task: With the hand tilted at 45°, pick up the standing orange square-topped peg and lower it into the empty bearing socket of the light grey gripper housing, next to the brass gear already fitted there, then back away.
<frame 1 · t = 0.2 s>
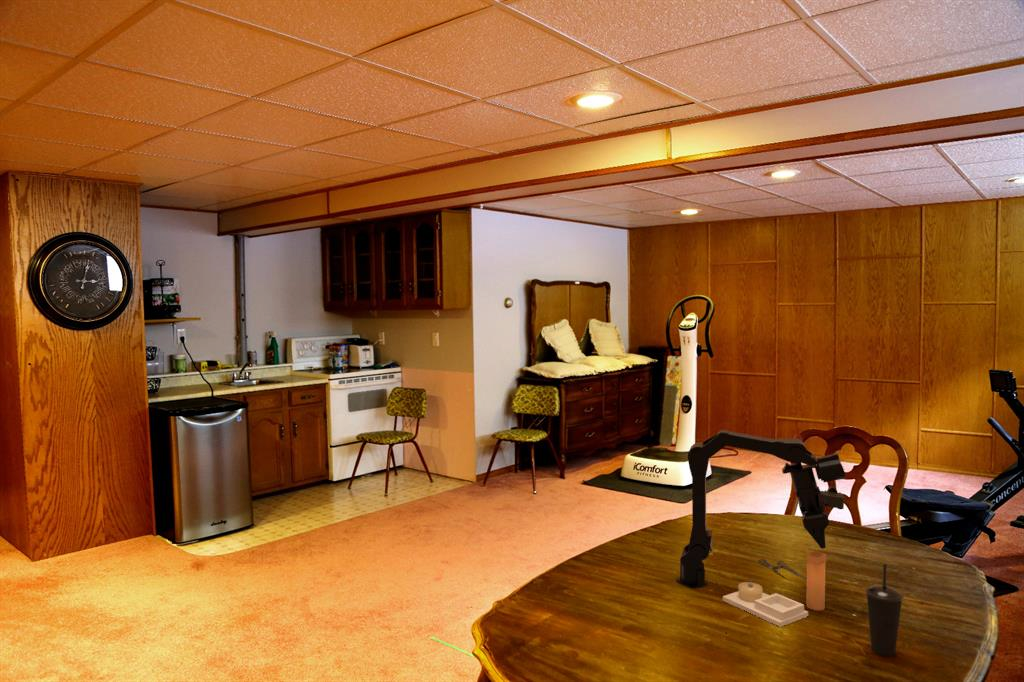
hand: (821, 542, 186), 15 cm above the table, tool tilted 15°, fingers open, 9 cm apart
drinking cup: (882, 651, 159), on the table
hacksaw: (795, 576, 204), on the table
housing: (764, 608, 181), on the table
orange square-topped peg: (815, 606, 182), on the table
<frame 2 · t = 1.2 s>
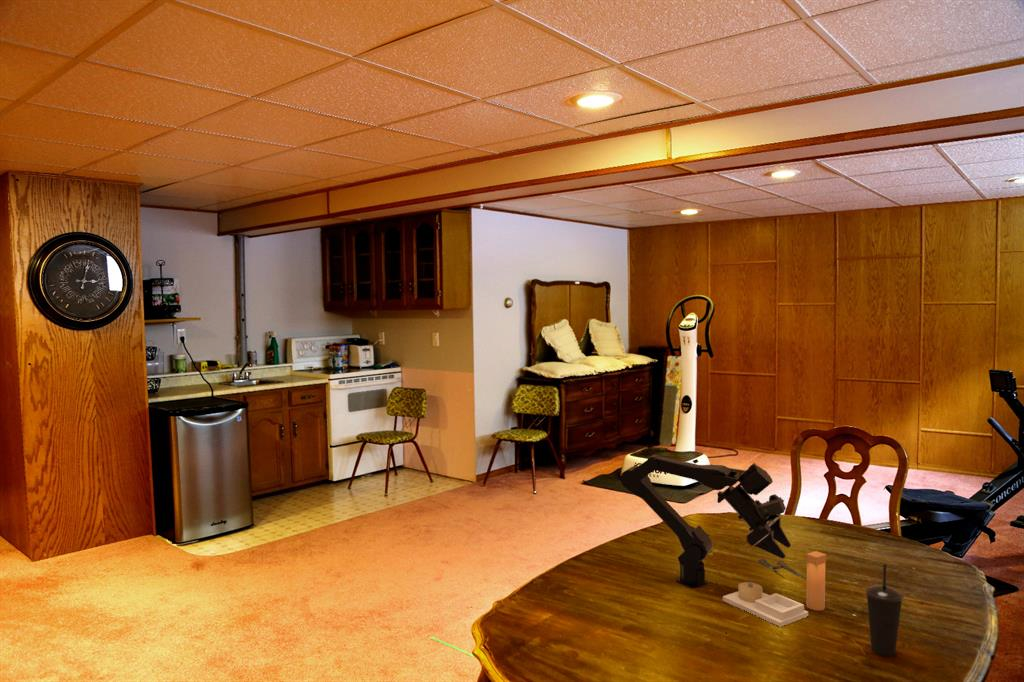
hand: (786, 552, 185), 13 cm above the table, tool tilted 45°, fingers open, 9 cm apart
nothing on the table moved.
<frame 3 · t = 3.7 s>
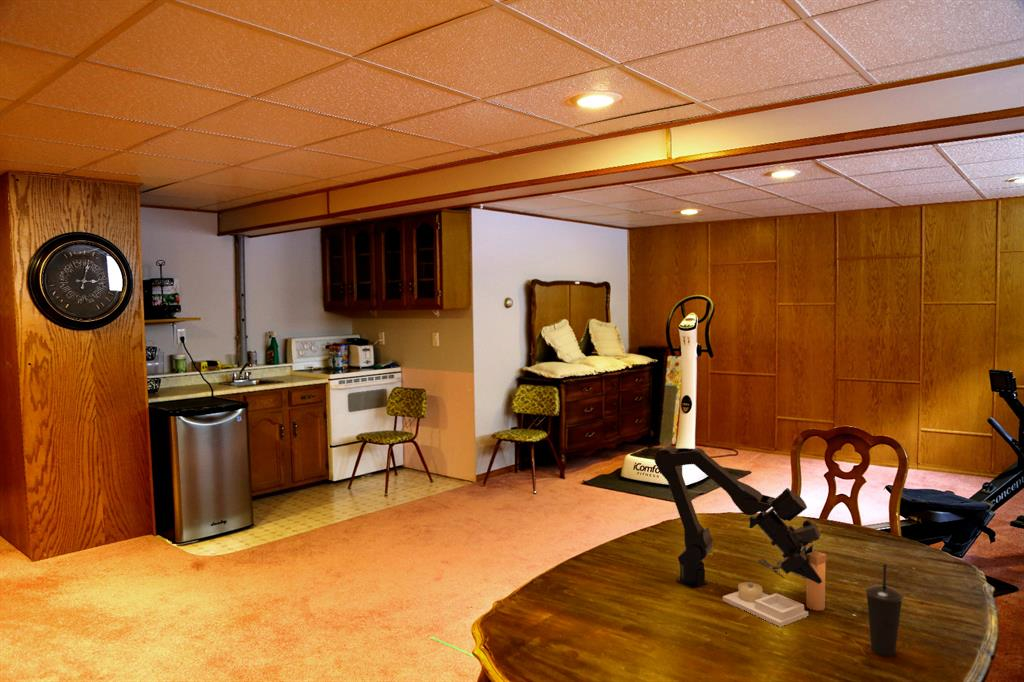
hand: (821, 579, 181), 8 cm above the table, tool tilted 45°, fingers closed on orange square-topped peg, 4 cm apart
orange square-topped peg: (815, 606, 182), on the table, touching gripper
everything else where it was.
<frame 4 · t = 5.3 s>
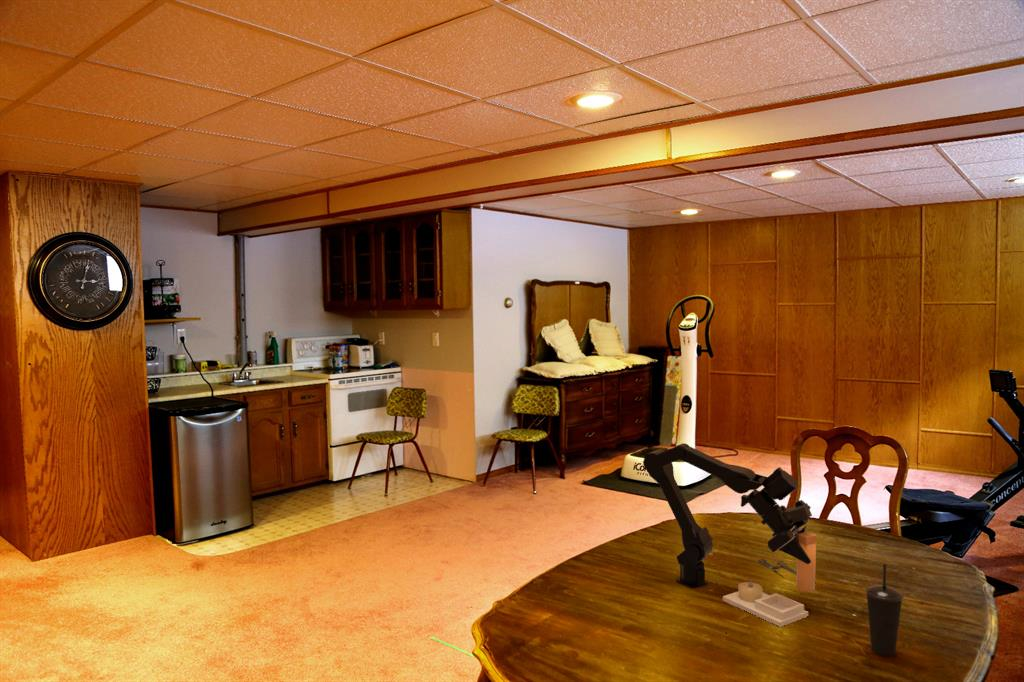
hand: (811, 560, 179), 13 cm above the table, tool tilted 45°, fingers closed on orange square-topped peg, 4 cm apart
orange square-topped peg: (805, 587, 180), point 6 cm above the table, touching gripper
everything else where it was.
when the fingers open (10 cm above the table, at t = 7.2 s): orange square-topped peg drops 1 cm, resting on housing.
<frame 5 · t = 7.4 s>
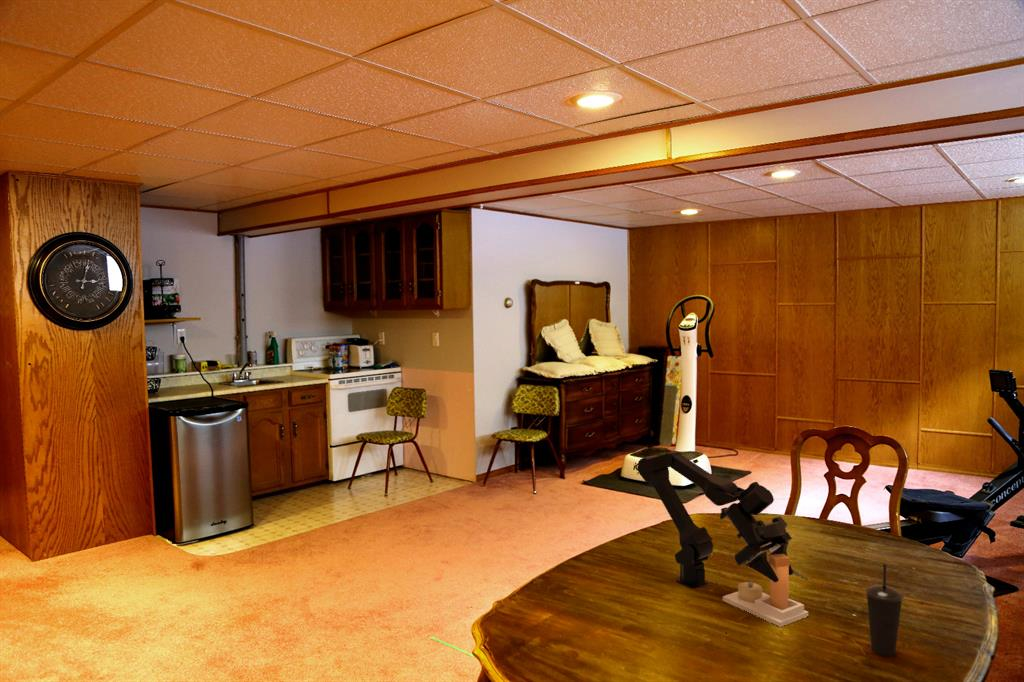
hand: (784, 577, 176), 10 cm above the table, tool tilted 45°, fingers open, 7 cm apart
orange square-topped peg: (779, 610, 178), point 1 cm above the table, touching housing
everything else where it was.
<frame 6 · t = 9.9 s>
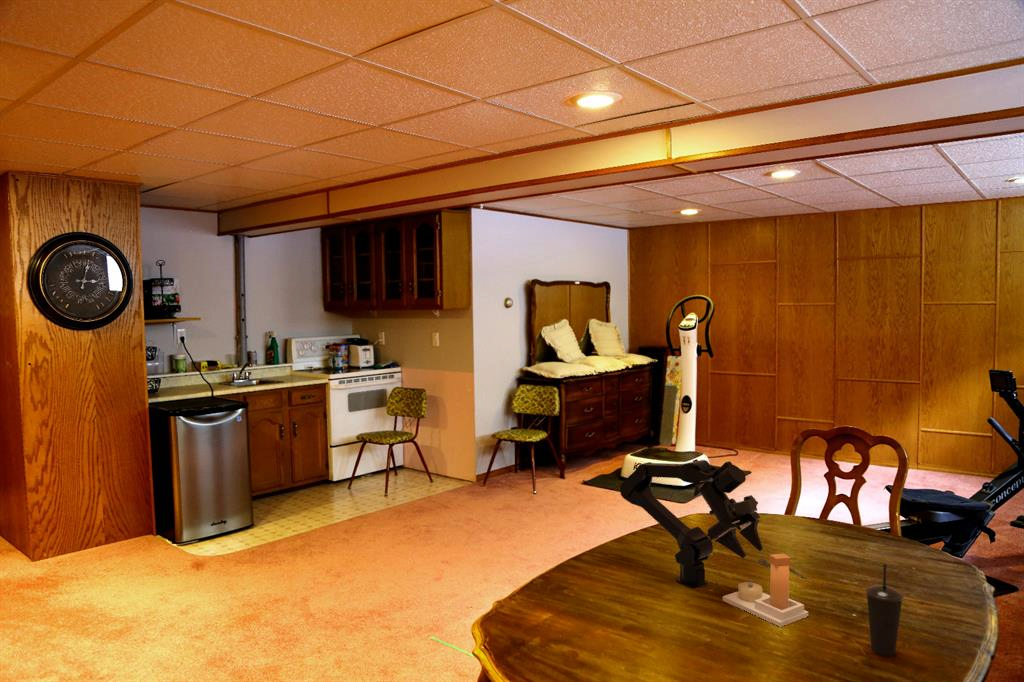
hand: (753, 553, 183), 14 cm above the table, tool tilted 40°, fingers open, 9 cm apart
nothing on the table moved.
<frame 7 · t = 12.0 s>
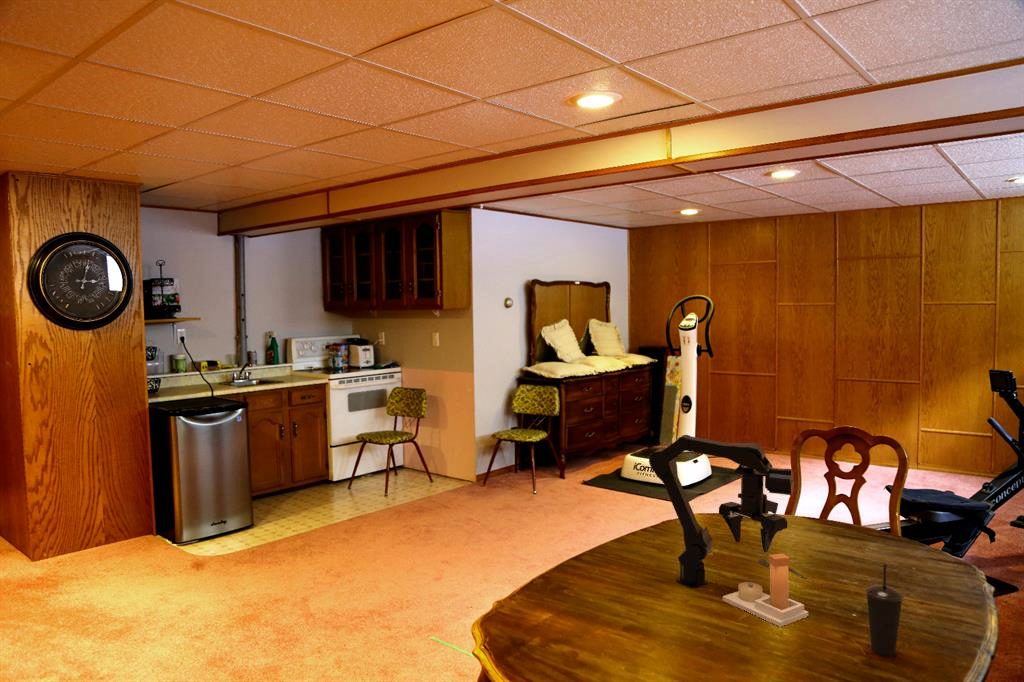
hand: (751, 547, 190), 13 cm above the table, tool pointing down, fingers open, 9 cm apart
nothing on the table moved.
at the end: orange square-topped peg 0.1 cm from the target spot on the housing, point 1.2 cm above the housing's base; orange square-topped peg tilted 1°; the gripper is holding nothing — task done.
